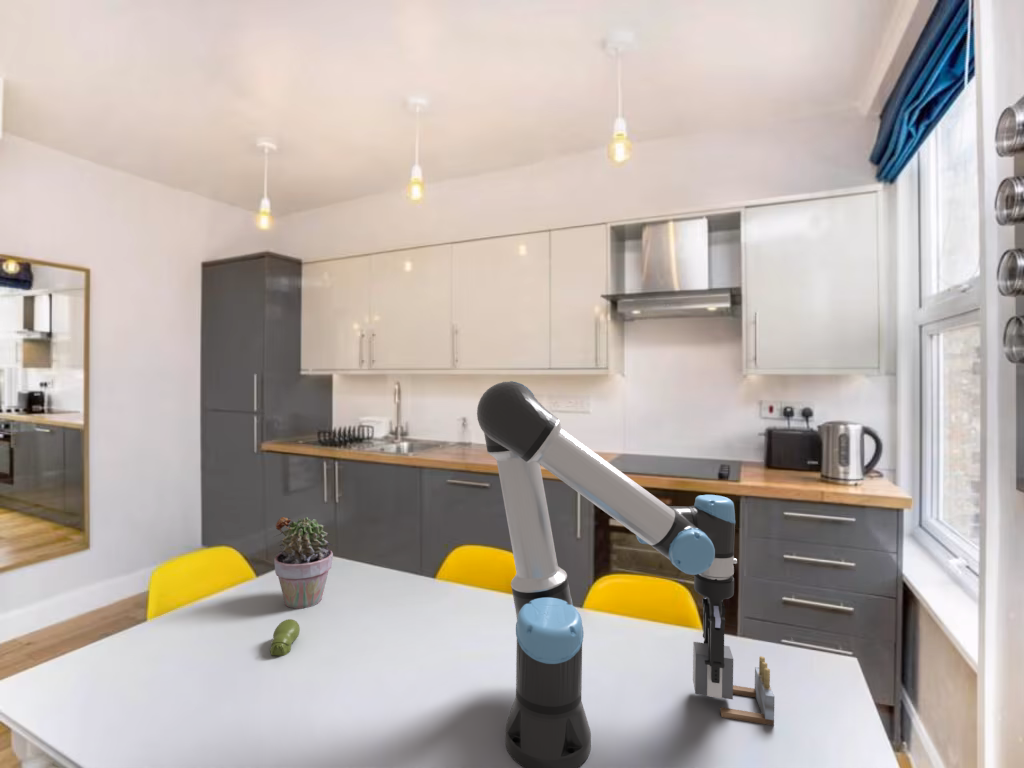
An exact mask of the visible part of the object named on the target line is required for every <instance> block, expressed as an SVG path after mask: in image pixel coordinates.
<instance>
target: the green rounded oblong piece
mask: <svg viewBox="0 0 1024 768" xmlns="http://www.w3.org/2000/svg"><path fill="white" fill-rule="evenodd" d="M300 631H301V627H300V624H299V623H298V621H297V620H295V619H290V618H289V619H285V620H282V621H281V622H280V623H279V624H278V625H277V626H276V627H275V629H274V631H273V635H272V641H271V643H270V645H271V646H270V649H269V652H270V656H279V657H280V656H281V657H282V656H283V657H285V656H286V655H288V654H289V653H290V652H291V649H292V645H293V644H292V643H294V642H295V641H296V640H297V639H298V637H299V635H300Z"/></svg>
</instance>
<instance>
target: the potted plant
mask: <svg viewBox="0 0 1024 768" xmlns="http://www.w3.org/2000/svg"><path fill="white" fill-rule="evenodd" d="M297 519H298V521H297V522H295V521H292V519H291V518H290V517H284V516H283V517H280V518H279V519H278V520H277V522H276V523H275V528H276V530H278V531H280V534H277V535H275V536H274V535H273V538H274V537H277V536H280V535H282V534H283V536H284V537H283V538H281V540H280V541H279V543H281V544H279V545H278V546H279V547H280V549H281V550H280V551H279V552H278V553H277V554H276V555H275V557H274V559H273V562H274V563H273V564H274V571H275V572H274V573H275V575H276V576H277V577H278V582H279V585H280V589H281V592H282V597H283V600H284V601H283V602H284V605H285V606H286V607H288V608H290V609H298V610H299V609H306V608H307V609H308V608H310V607H314V606H315V605H318V604H319V603H320V602H321V601H322V600H323V595H324V593H325V592H324V590H325V587H326V584H327V578H328V575H329V572H330V570H331V569H332V568H333V567H332V565H333V561H335V560H334V559H333V556H334V553H333V551H332V550H331V549H329V548H328V546H334V547H335V548H336V547H337V546H336V545H335V544H333V543H329V540H326V539H325V538H327V536H328V535H329V536H330V534H329V533H328V532H326V531H324V527H325V526H327V525H323V524H319V523H318V519H315V518H313V519H312V520H311V519H309V517H307V516H305V517H303V518H301V517H298V518H297ZM284 527H285V528H286V530H284V531H283V528H284ZM332 536H333V537H334V536H335V535H333V534H332ZM282 547H283V548H282Z"/></svg>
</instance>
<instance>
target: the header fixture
mask: <svg viewBox="0 0 1024 768" xmlns="http://www.w3.org/2000/svg"><path fill="white" fill-rule="evenodd" d="M758 659H759V660H758V661H759V663H758V666H759V667H757V666H754V688H752V687H748V686H747V687H746V686H741V685H734V684H733V695H737V696H744V697H749V698H755V699H756V701H757V704H758V707H759V710H760V713H758V712H753V711H747V710H743V709H734V708H729V707H722V706H720V716H721V718H725V719H732V720H737V721H745V722H749V723H755V724H762V725H768V726H775V695H774V692H773V690H772V687H771V685H770V684H771V669H770V668H768V663H767V662H766V658H765V657H764V656H761V655H760V656H759V658H758Z"/></svg>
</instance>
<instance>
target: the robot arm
mask: <svg viewBox="0 0 1024 768" xmlns="http://www.w3.org/2000/svg"><path fill="white" fill-rule="evenodd" d="M477 404H478V405H477V409H476V411H477V412H476V417H477V419H476V420H477V422H478V424H479V427H480V429H481V431H482V432H483V433H484V435H483V436H484V440H485V446H486V451H487V454H488V455H490V456H491V457H493V458H494V459H495V460H496V465H497V470H498V476H499V481H500V487H501V492H502V493H501V495H502V499H503V505H504V509H505V510H504V511H505V516H506V521H507V526H508V527H507V528H508V532H509V539H510V545H511V549H512V554H513V559H514V565H515V571H516V573H515V576H514V577H513V578H512V580H511V582H510V586H511V592H512V597H513V603H514V609H515V615H516V624H515V637H516V655H515V656H516V661H515V662H516V663H515V665H516V667H515V669H516V670H515V672H516V673H515V675H516V677H515V698H514V701H513V705H512V707H511V710H510V712H509V716H508V719H507V721H506V725H505V741H504V742H505V747H506V750H507V752H508V754H509V755H510V757H511V758H512V759H513V760H514V761H515V763H518V764H519V765H520V766H522V767H524V768H578V767H580V766H581V765H582V764H583V763H585V761H586V760H587V759H588V758H589V755H590V753H591V750H592V745H591V744H592V733H591V728H590V725H589V721H588V718H587V715H586V711H585V709H584V704H583V701H582V688H583V685H582V682H583V681H582V680H583V679H582V678H583V675H582V674H583V641H584V634H585V633H584V627H583V619H582V615H581V614H580V611H578V609H577V608H576V607H575V606H574V604H573V600H572V596H571V595H572V594H571V591H570V586H569V585H570V584H569V580H568V573H567V572H566V571H565V570H564V569H563V568H561V567H560V566H559V565H558V560H557V554H556V549H555V548H556V547H555V543H554V542H555V541H554V537H553V532H552V531H553V530H552V525H551V524H552V523H551V519H550V515H549V514H550V513H549V509H548V503H547V498H546V497H547V496H546V491H545V486H544V481H543V475H542V468H544V469H545V470H547V471H548V472H549V473H551V474H552V475H553V476H555V477H556V478H558V479H559V480H560V481H562V482H563V483H565V484H566V485H567V486H568V487H570V489H571V488H572V489H573V490H574V491H576V492H577V493H578V494H579V495H581V496H582V497H583V498H585V499H587V500H588V501H589V502H591V503H592V504H593V505H595V506H596V507H597V508H598V509H600V510H602V511H603V512H604V513H605V514H607V515H608V516H610V517H612V519H614V520H615V521H617V522H618V523H619V524H620V525H622V526H624V527H625V528H626V529H627V530H629V531H630V532H631V533H633V534H635V537H636V539H637V541H638V542H639V543H640V544H642V545H649V546H651V547H652V548H653V549H655V550H656V552H659V553H660V554H661V555H662V556H664V557H665V558H667V559H668V560H669V561H670V562H671V564H672V566H674V567H675V568H677V569H678V570H679V571H681V572H682V573H684V574H686V575H689V576H690V575H692V576H693V589H694V591H695V592H696V593H697V594H698V595H700V596H702V597H703V598H702V602H701V603H702V608H703V609H702V614H703V615H702V616H703V623H702V624H703V625H702V627H703V628H702V629H703V631H702V637H703V643H708V658H709V659H708V661H707V660H705V664H706V665H707V695H706V696H707V697H711V698H716V699H723V698H722V668H724V666H725V665H724V646H725V627H726V626H725V625H726V618H725V615H726V606H725V605H724V600H726V599H727V600H728V599H730V598H732V597H733V596H734V593H735V578H734V573H735V567H734V566H735V565H736V564H738V559H737V558H735V533H736V530H735V529H736V528H735V527H736V523H737V522H736V513H735V512H736V511H735V503H734V501H733V500H731V499H730V498H728V497H725V496H722V495H718V494H716V495H715V494H703V495H701V494H700V495H697V496H696V497H695V500H694V505H689V506H688V505H687V506H680V505H679V506H678V505H677V506H676V505H673V506H672V505H667V504H665V503H664V502H663V501H662V500H660V499H659V498H658V497H656V496H655V495H653V494H652V493H650V492H649V491H648V490H647V489H645V488H644V487H642V486H641V485H640V484H638V483H637V482H636V481H635V480H633V479H632V478H631V477H629V476H627V475H626V474H625V473H624V472H622V471H621V470H619V469H618V468H617V467H615V466H614V465H613V464H611V463H610V462H609V461H607V460H605V458H603V457H602V456H600V455H599V454H598V453H596V452H595V451H593V449H591V448H589V447H588V446H586V444H584V443H582V442H581V441H580V440H579V439H577V437H575V436H573V435H572V434H570V433H568V432H567V431H566V430H565V429H564V428H562V426H561V420H560V419H559V418H558V417H557V416H556V415H554V414H553V413H551V412H550V411H549V410H548V409H547V408H546V407H544V406H543V405H542V403H540V402H539V401H538V399H537V398H536V397H535V394H534V393H533V392H532V391H531V390H530V389H529V387H528V386H526V385H524V384H522V383H520V382H517V381H512V380H510V381H503V382H499V383H496V384H494V385H492V386H490V387H489V388H488V389H487V390H485V392H484V393H483V394H482V396H481V397H480V398H479V401H478V403H477ZM541 467H542V468H541ZM734 564H735V565H734Z"/></svg>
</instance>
